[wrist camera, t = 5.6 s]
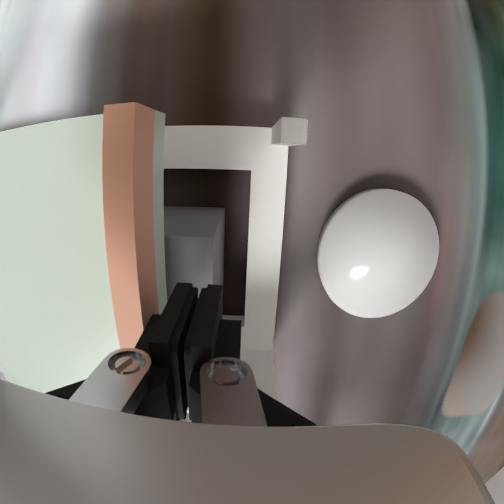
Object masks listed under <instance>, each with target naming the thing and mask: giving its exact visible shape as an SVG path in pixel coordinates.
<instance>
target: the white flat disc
mask: <svg viewBox="0 0 504 504" xmlns="http://www.w3.org/2000/svg"><path fill="white" fill-rule="evenodd" d="M438 255H439V236H438V231H437V227H436V225H435V222H434V220H433V218H432V216H431V214H430V213H429V211H428V210H427V208H426V207H425V206H424V205H423V204H422V203H421V202H420V201H418V200H417V199H416V198H414V197H412V196H411V195H409V194H406V193H403V192H400V191H397V190H394V189H389V188H374V189H369V190H365V191H362V192H360V193H357V194H355V195H353V196H352V197H350V198H348V199H347V200H345V201H344V202H343V203H342V204H340V205H339V206H338V207H337V208H336V209H335V210H334V212H333V213H332V214H331V216H330V217H329V218H328V220H327V222H326V223H325V225H324V227H323V229H322V232H321V234H320V237H319V241H318V245H317V252H316V263H317V270H318V274H319V277H320V280H321V283H322V284H323V286H324V288H325V290H326V292H327V294H328V296H329V297H330V298H331V299H332V301H333V302H334V303H335V304H336V305H337V306H338V307H340V308H341V309H343V310H344V311H346V312H348V313H350V314H352V315H355V316H359V317H364V318H377V317H383V316H387V315H390V314H393V313H396V312H398V311H400V310H402V309H403V308H405V307H406V306H408V305H409V304H410V303H412V302H413V301H414V300H415V299H416V298H417V297H418V296H419V295H420V294H421V293H422V292H423V290H424V289H425V288H426V286H427V285H428V283H429V281H430V279H431V278H432V276H433V273H434V271H435V268H436V264H437V261H438Z"/></svg>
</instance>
